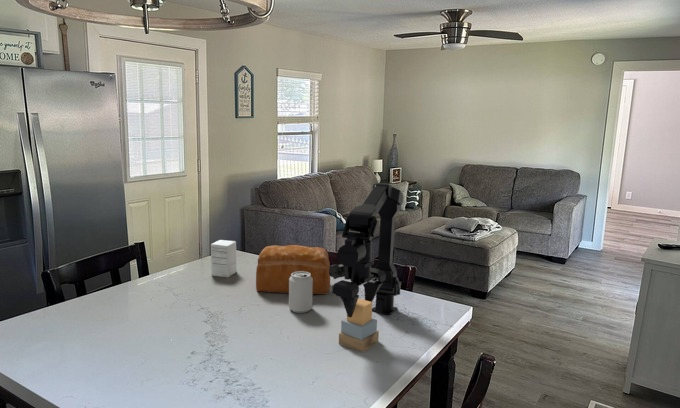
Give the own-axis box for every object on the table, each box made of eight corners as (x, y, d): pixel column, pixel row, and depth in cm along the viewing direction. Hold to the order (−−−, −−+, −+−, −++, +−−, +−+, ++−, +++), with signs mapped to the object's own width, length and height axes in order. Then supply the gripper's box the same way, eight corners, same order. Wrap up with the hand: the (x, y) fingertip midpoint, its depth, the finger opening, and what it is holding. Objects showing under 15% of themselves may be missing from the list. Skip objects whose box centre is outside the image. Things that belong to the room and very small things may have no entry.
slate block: (356, 324, 142) (357, 313, 142) (376, 331, 138) (377, 319, 137) (341, 332, 137) (341, 320, 136) (361, 340, 133) (361, 327, 132)
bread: (261, 280, 188) (261, 240, 185) (331, 283, 186) (332, 242, 184) (253, 293, 174) (253, 250, 171) (328, 296, 173) (329, 253, 170)
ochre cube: (356, 314, 141) (356, 298, 140) (371, 319, 138) (372, 301, 137) (346, 320, 136) (347, 303, 136) (362, 325, 134) (363, 307, 133)
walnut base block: (354, 335, 144) (354, 323, 143) (378, 342, 139) (378, 330, 139) (338, 345, 137) (338, 333, 137) (363, 353, 133) (363, 341, 132)
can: (308, 315, 156) (309, 278, 154) (285, 312, 158) (286, 276, 156) (314, 306, 164) (315, 271, 162) (292, 304, 165) (293, 269, 163)
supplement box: (220, 270, 199) (219, 239, 196) (237, 272, 197) (236, 241, 195) (210, 275, 192) (210, 243, 189) (228, 277, 190) (227, 245, 188)
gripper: (354, 244, 146) (352, 295, 149) (315, 259, 131) (314, 315, 134) (387, 251, 140) (385, 304, 143) (351, 267, 125) (349, 325, 127)
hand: (358, 311), depth 137 cm, fingers open, 9 cm apart
